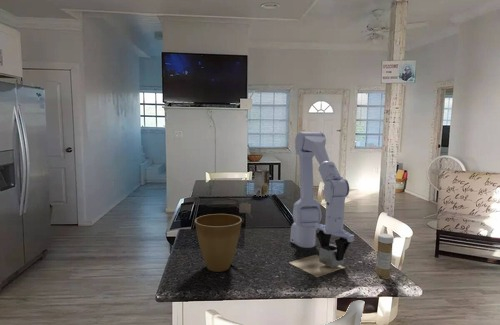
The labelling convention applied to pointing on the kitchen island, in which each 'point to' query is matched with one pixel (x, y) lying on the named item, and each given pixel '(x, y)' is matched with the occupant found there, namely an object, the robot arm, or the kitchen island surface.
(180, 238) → the kitchen island surface
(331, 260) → the grey hollow square block
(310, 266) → the plate
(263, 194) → the coffee box
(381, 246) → the sprinkles bottle
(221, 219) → the plant pot
